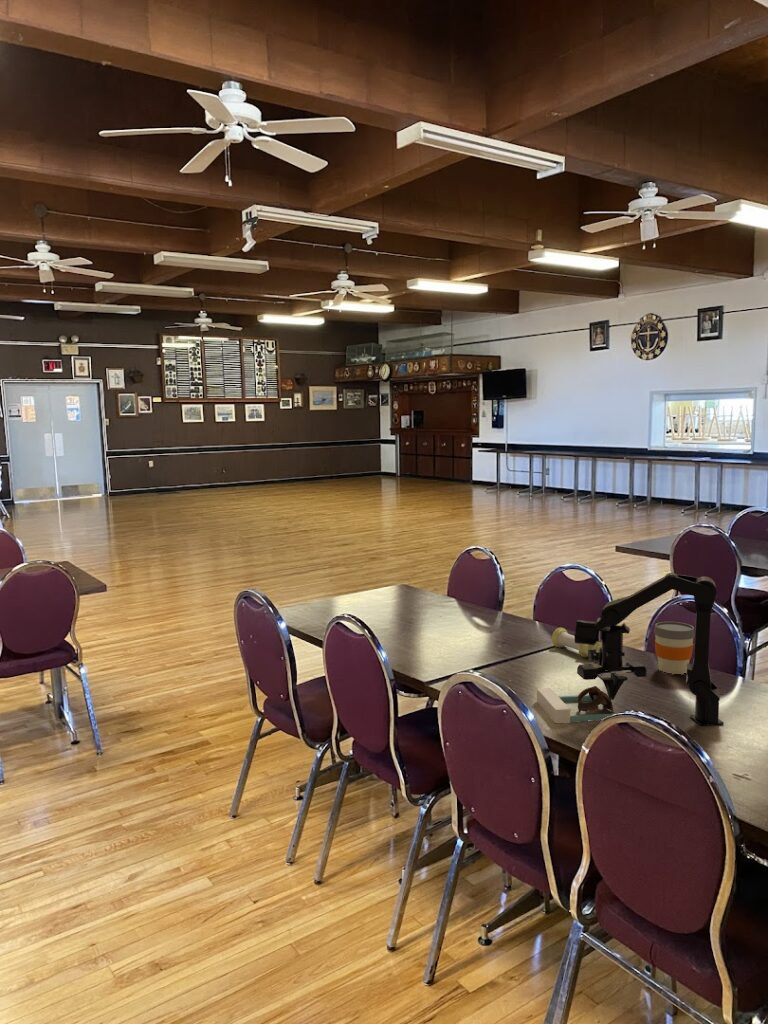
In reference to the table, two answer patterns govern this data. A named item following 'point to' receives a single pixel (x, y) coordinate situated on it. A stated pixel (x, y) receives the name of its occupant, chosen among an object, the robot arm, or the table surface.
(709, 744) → the table surface
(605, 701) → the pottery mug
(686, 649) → the reusable coffee cup
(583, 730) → the table surface
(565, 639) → the trophy
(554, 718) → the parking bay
